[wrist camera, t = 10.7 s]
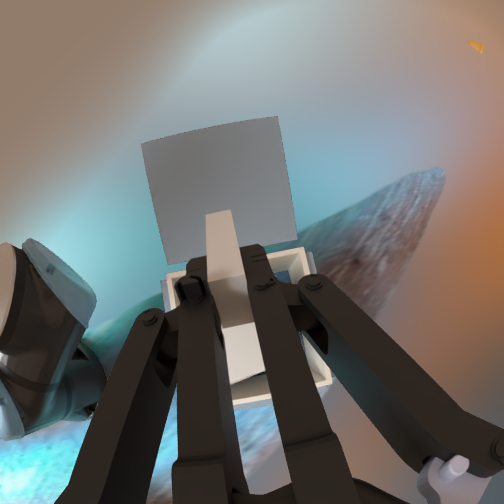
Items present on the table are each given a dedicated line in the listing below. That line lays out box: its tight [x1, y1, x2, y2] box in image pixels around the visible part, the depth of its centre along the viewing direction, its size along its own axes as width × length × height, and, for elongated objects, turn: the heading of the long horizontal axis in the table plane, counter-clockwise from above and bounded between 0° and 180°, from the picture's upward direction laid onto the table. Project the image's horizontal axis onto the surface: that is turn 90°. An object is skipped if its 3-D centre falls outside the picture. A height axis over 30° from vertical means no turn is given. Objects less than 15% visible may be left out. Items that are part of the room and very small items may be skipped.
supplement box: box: [221, 322, 265, 385], centre depth 36 cm, size 9×9×15 cm
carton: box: [161, 247, 335, 411], centre depth 37 cm, size 17×18×12 cm
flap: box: [141, 116, 298, 265], centre depth 31 cm, size 1×15×14 cm
